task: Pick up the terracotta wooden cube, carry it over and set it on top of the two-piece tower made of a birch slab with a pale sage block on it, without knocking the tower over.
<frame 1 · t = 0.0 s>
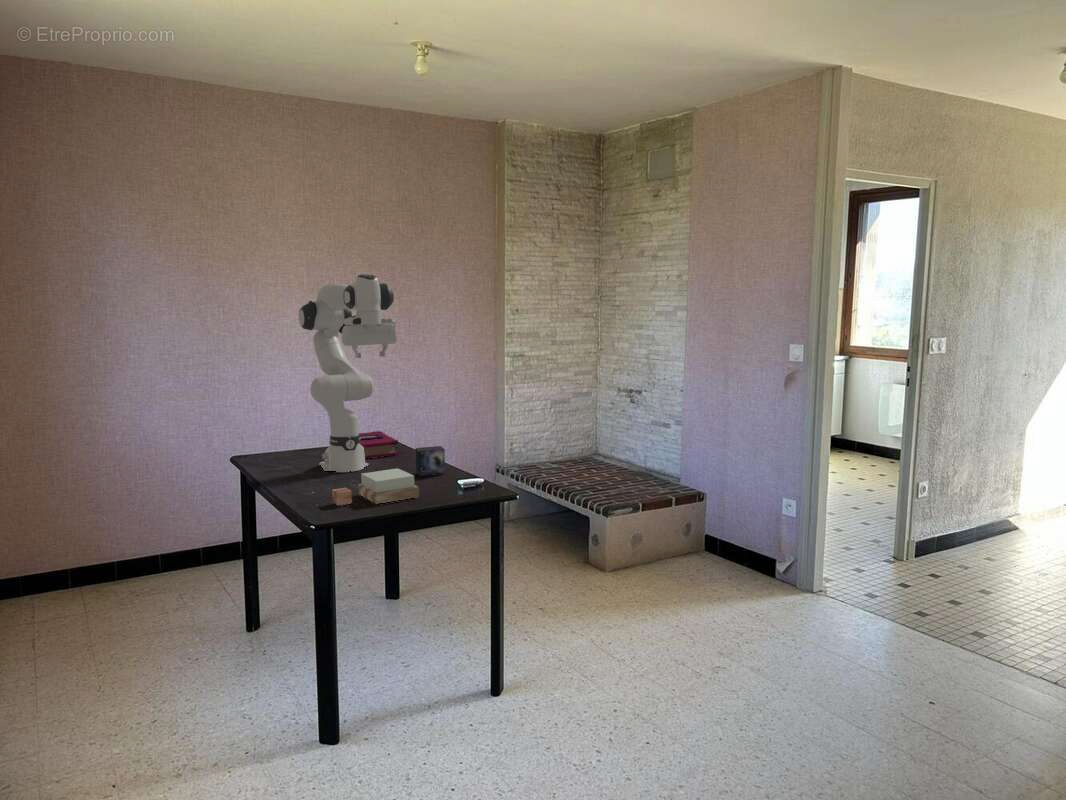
hand: (370, 357, 281), 48 cm above the table, tool pointing down, fingers open, 8 cm apart
terracotta cube: (342, 504, 261), on the table
book: (367, 453, 346), on the table
birch slab: (388, 498, 271), on the table, touching sage block
small box: (430, 474, 303), on the table
sage block: (387, 485, 270), point 4 cm above the table, touching birch slab
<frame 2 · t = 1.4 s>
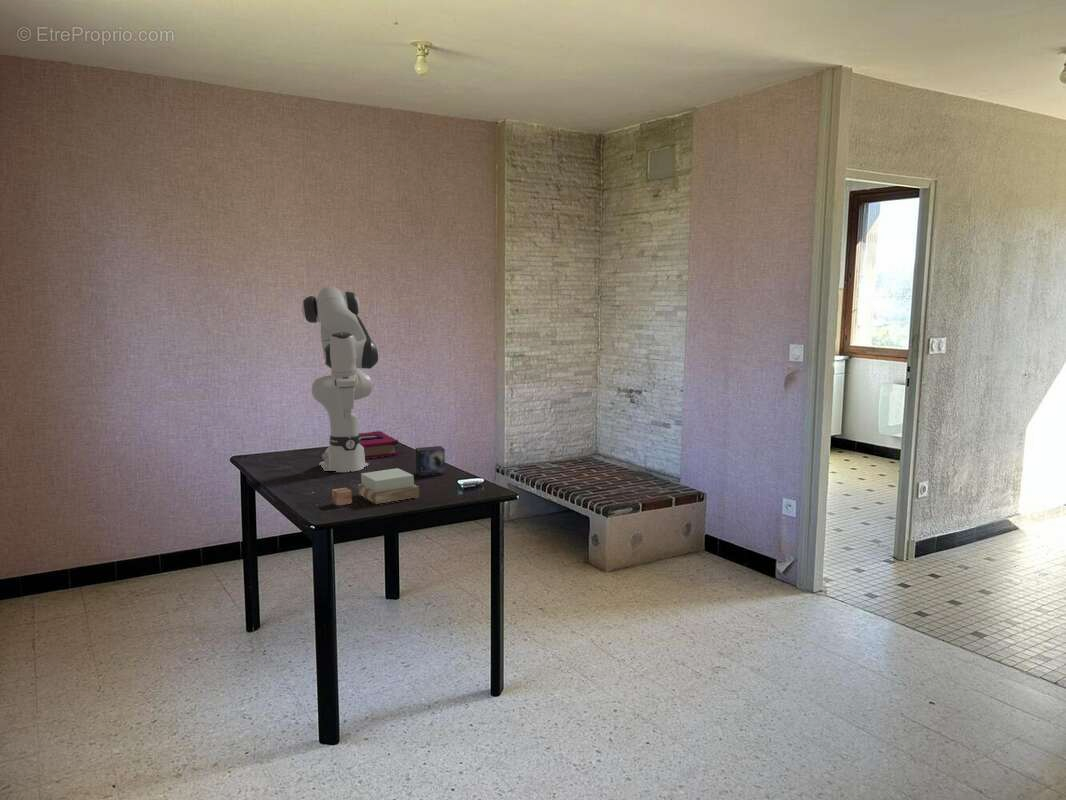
hand: (347, 419, 264), 28 cm above the table, tool pointing down, fingers open, 8 cm apart
nothing on the table moved.
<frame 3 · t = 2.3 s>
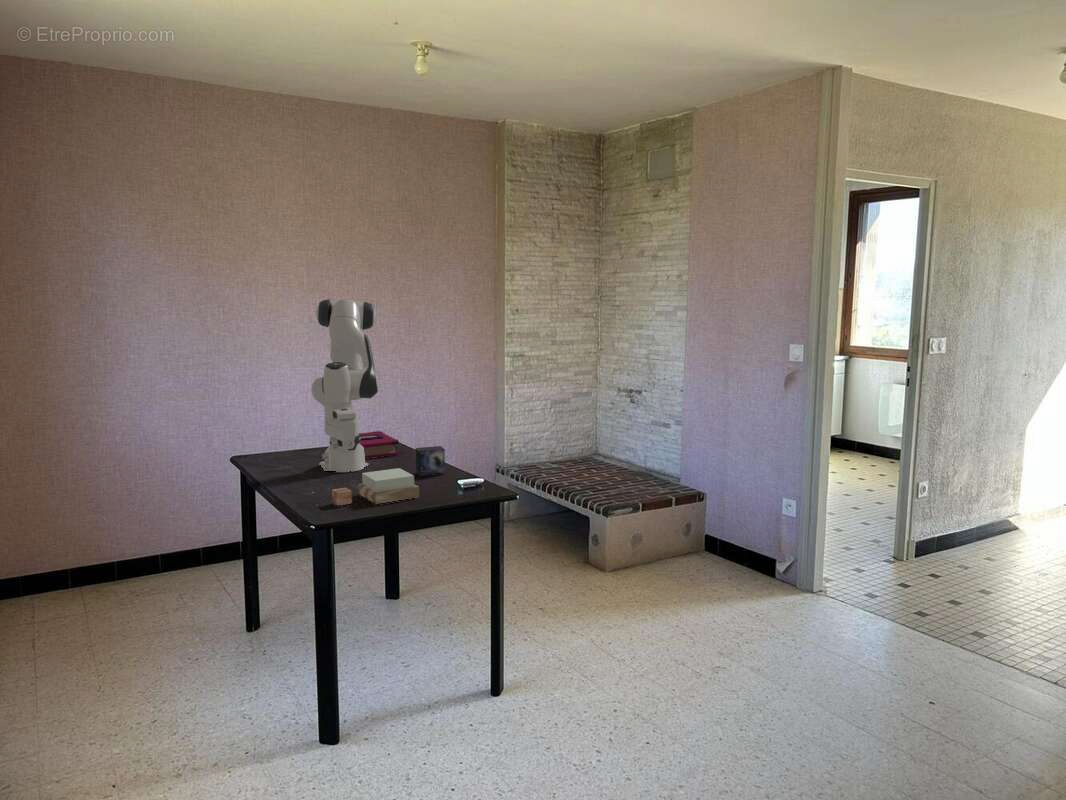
hand: (340, 451, 259), 18 cm above the table, tool pointing down, fingers open, 8 cm apart
nothing on the table moved.
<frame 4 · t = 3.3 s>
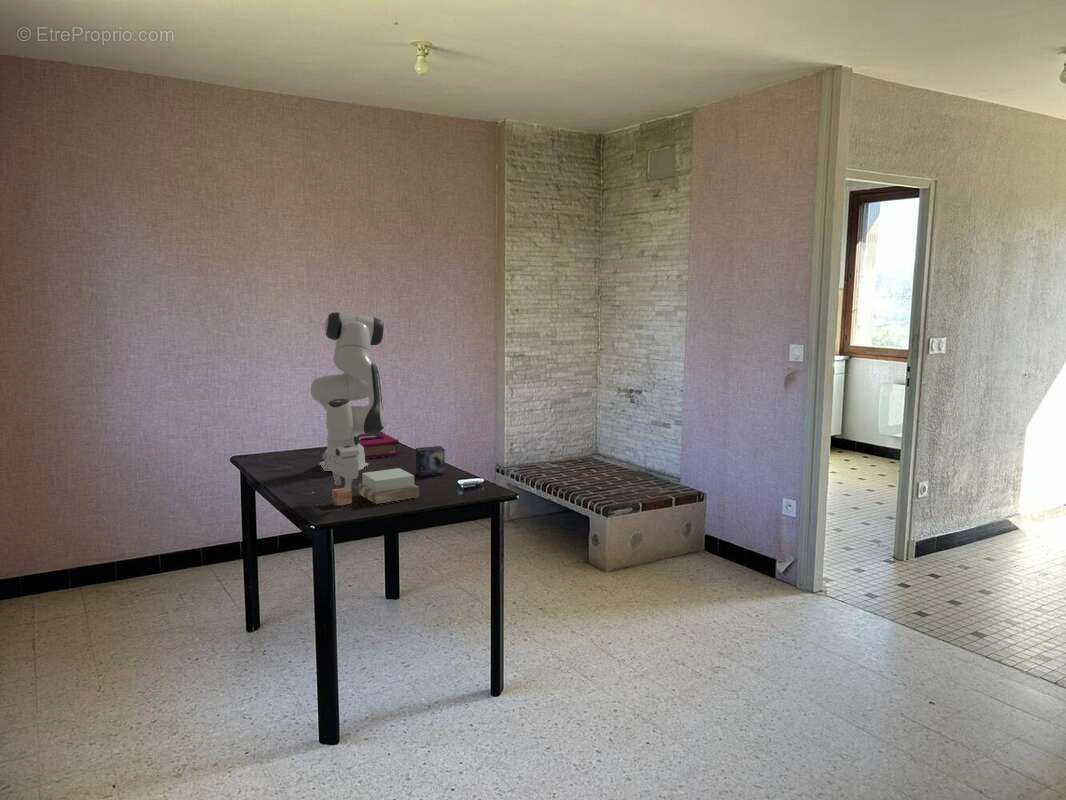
hand: (342, 487, 260), 6 cm above the table, tool pointing down, fingers open, 8 cm apart
birch slab: (389, 497, 271), on the table
sage block: (388, 485, 270), point 4 cm above the table
everything else where it was.
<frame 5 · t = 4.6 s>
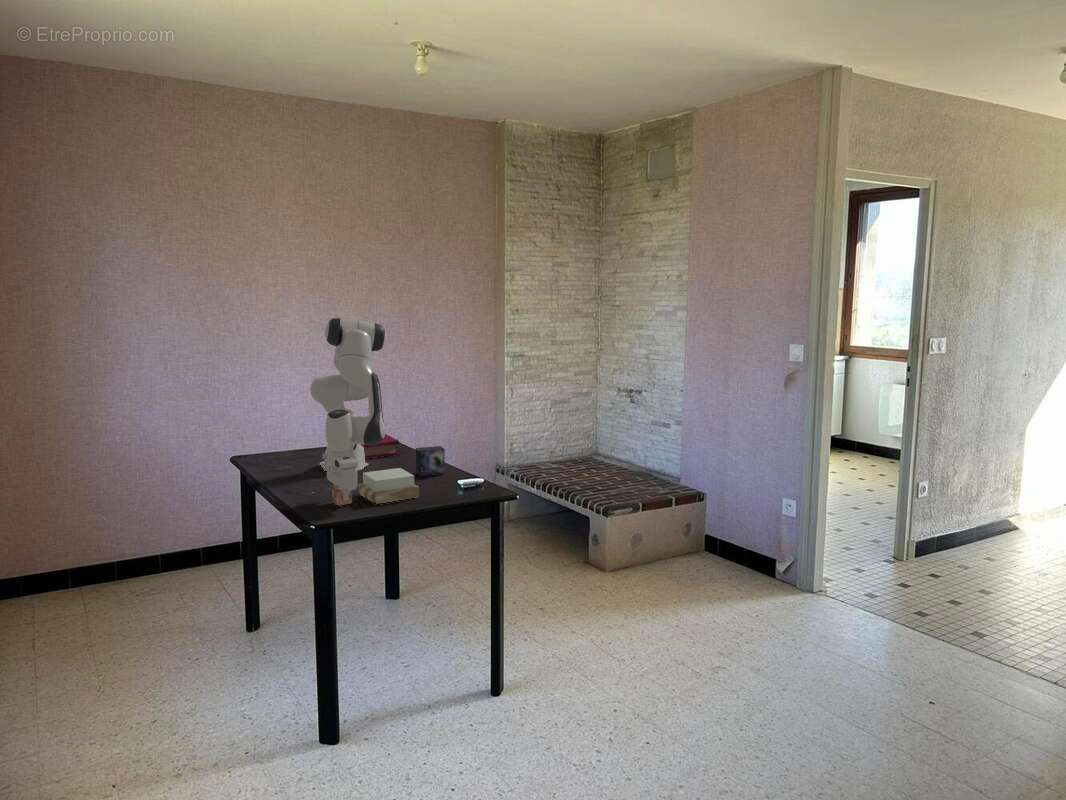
hand: (342, 497, 261), 2 cm above the table, tool pointing down, fingers closed on terracotta cube, 5 cm apart
terracotta cube: (342, 504, 261), on the table, touching gripper
everything else where it was.
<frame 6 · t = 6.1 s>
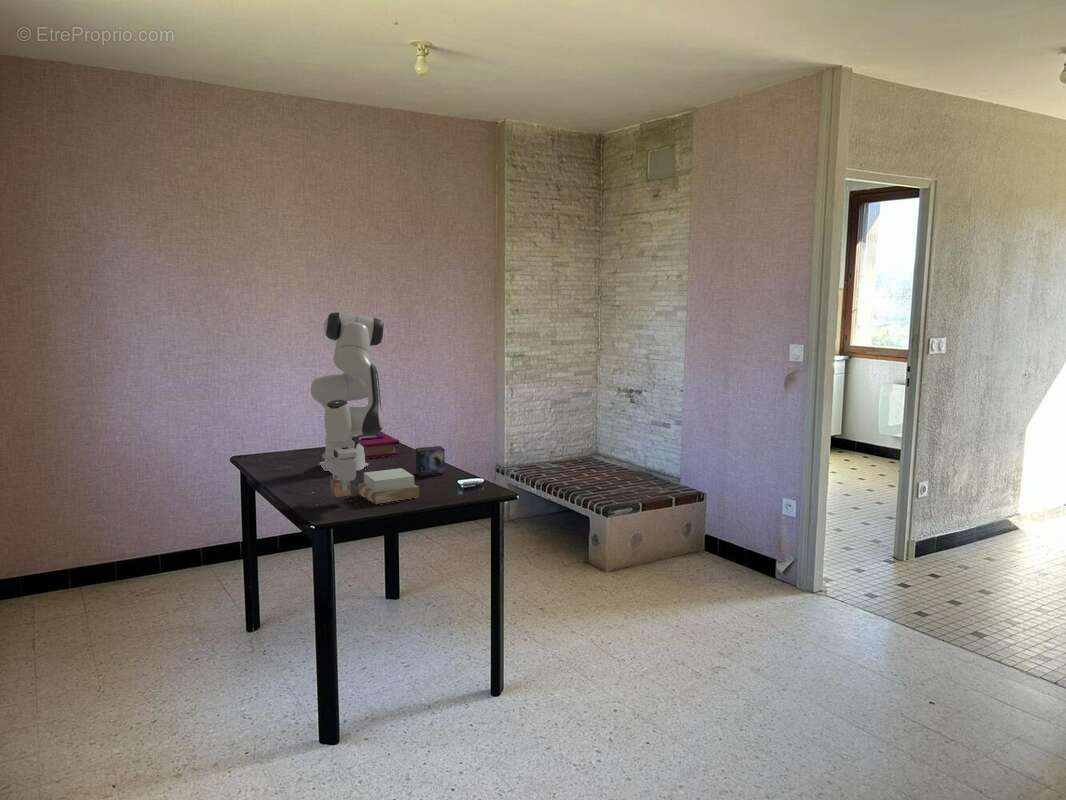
hand: (340, 488, 261), 5 cm above the table, tool pointing down, fingers closed on terracotta cube, 5 cm apart
terracotta cube: (341, 494, 261), point 3 cm above the table, touching gripper
birch slab: (389, 497, 271), on the table, touching sage block
sage block: (389, 485, 270), point 4 cm above the table, touching birch slab
everything else where it was.
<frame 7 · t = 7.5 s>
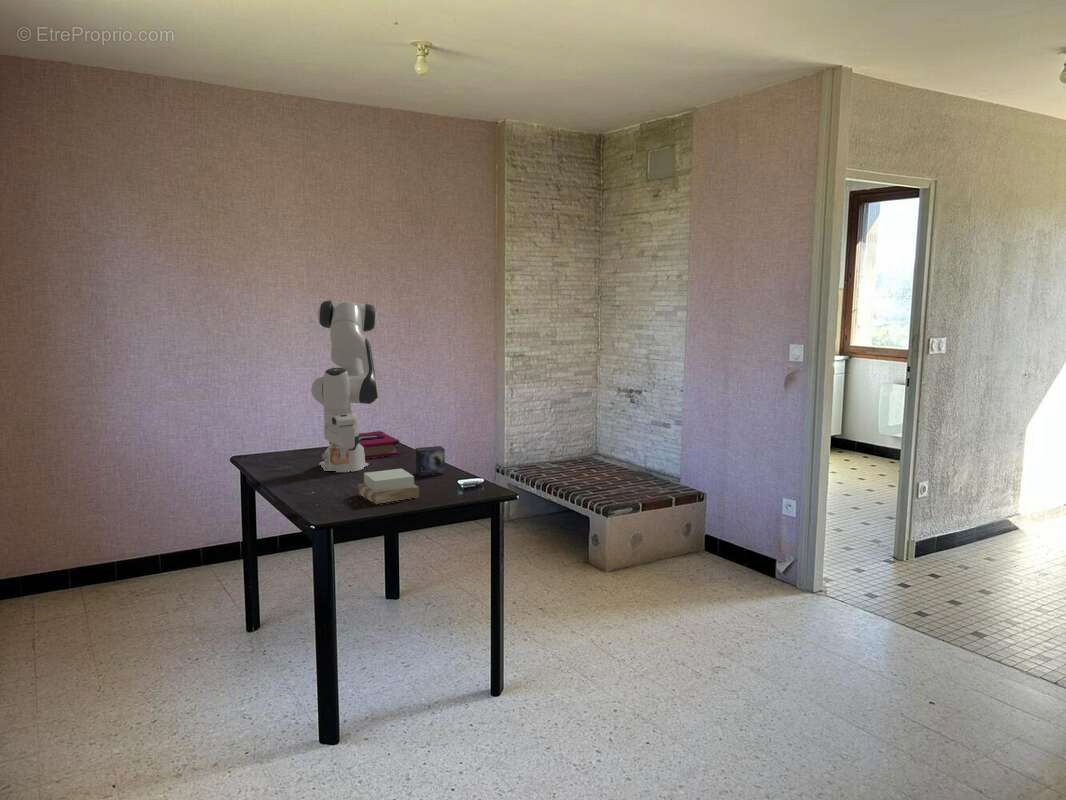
hand: (339, 456, 259), 16 cm above the table, tool pointing down, fingers closed on terracotta cube, 5 cm apart
terracotta cube: (339, 462, 259), point 14 cm above the table, touching gripper
everything else where it was.
when the fingers open (12 cm above the table, at t = 11.5 s): terracotta cube drops 2 cm, resting on sage block.
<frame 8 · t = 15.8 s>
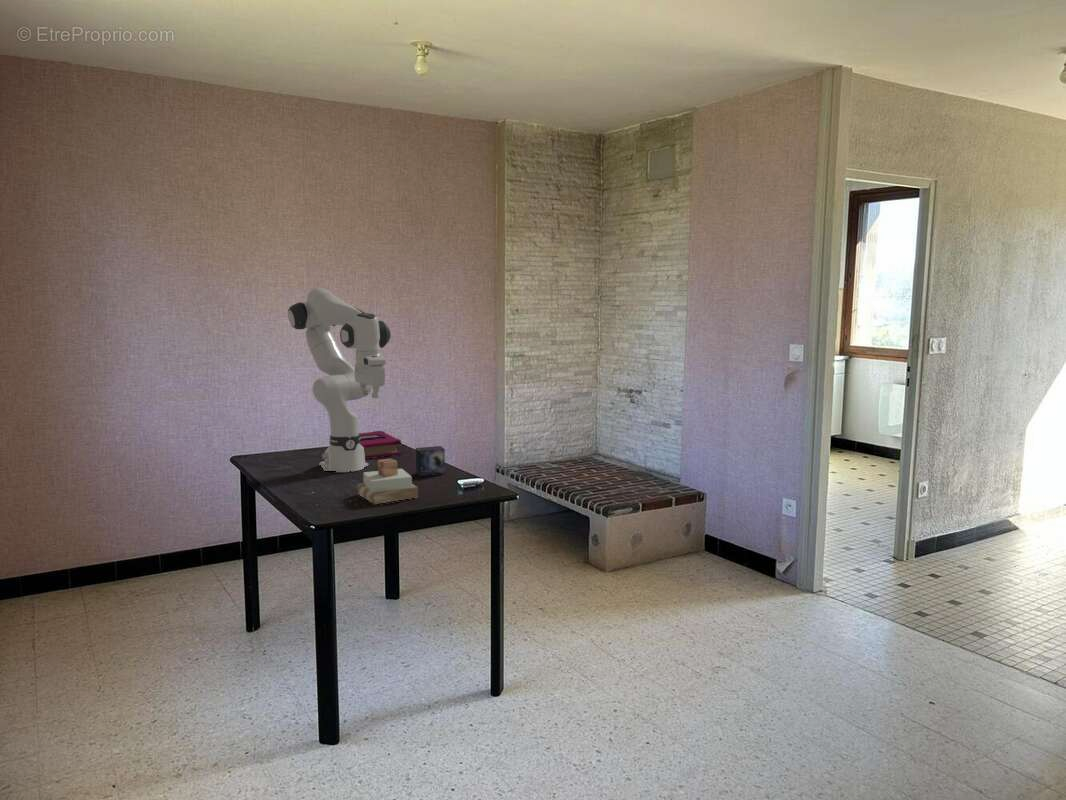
hand: (369, 396, 277), 34 cm above the table, tool pointing down, fingers open, 8 cm apart
terracotta cube: (387, 474, 269), point 8 cm above the table, touching sage block
sage block: (387, 485, 270), point 4 cm above the table, touching birch slab, terracotta cube
at the end: terracotta cube inside the target area on the sage block (0.3 cm from its centre), point 4.0 cm above the sage block's base; terracotta cube tilted 0°; sage block moved 0.8 cm from its start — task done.
